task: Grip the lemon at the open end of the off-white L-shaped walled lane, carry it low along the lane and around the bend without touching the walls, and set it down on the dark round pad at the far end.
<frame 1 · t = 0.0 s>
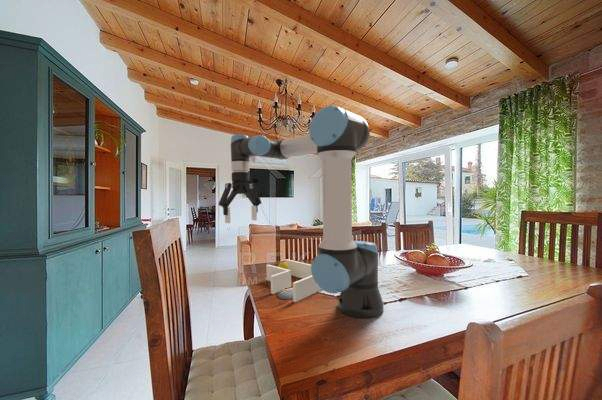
hand: (241, 221, 110), 28 cm above the table, tool pointing down, fingers open, 13 cm apart
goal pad: (288, 295, 100), on the table
lemon: (283, 278, 120), on the table
bent lane: (309, 285, 110), on the table
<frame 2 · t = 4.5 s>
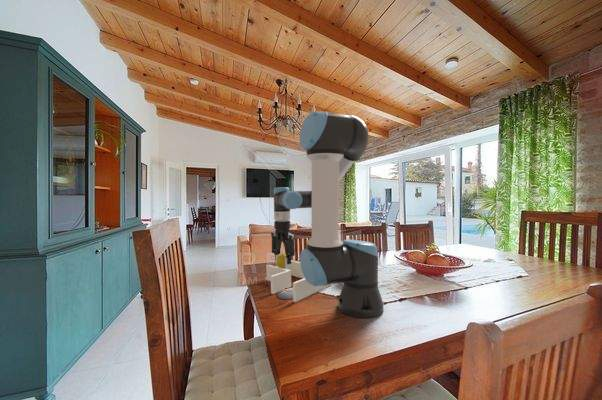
hand: (283, 269, 120), 4 cm above the table, tool pointing down, fingers closed on lemon, 5 cm apart
lemon: (283, 270, 120), point 4 cm above the table, touching gripper
everything else where it was.
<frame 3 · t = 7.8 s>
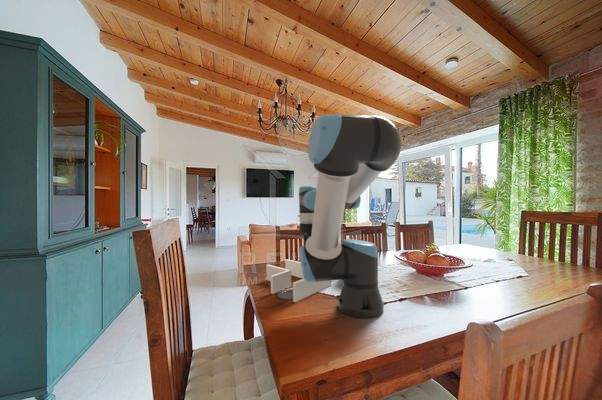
hand: (309, 276, 110), 4 cm above the table, tool pointing down, fingers closed on lemon, 5 cm apart
lemon: (309, 277, 110), point 4 cm above the table, touching gripper
everything else where it was.
when the fingers open (1 cm above the table, at t = 11.6 s): lemon stays where it is, resting on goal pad.
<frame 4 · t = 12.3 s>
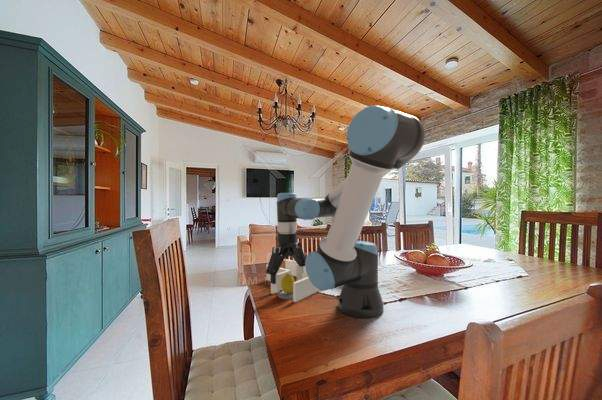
hand: (288, 286, 100), 3 cm above the table, tool pointing down, fingers open, 13 cm apart
lemon: (288, 294, 100), resting on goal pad
everything else where it was.
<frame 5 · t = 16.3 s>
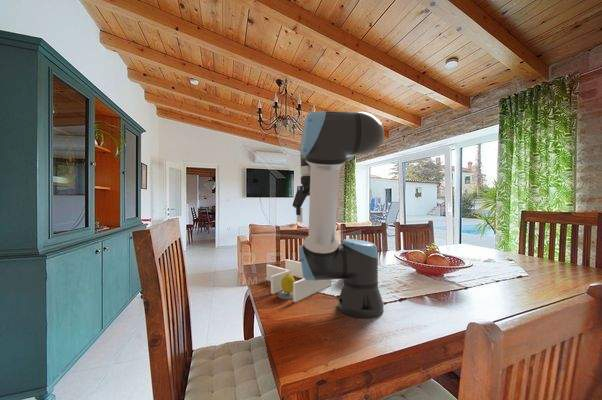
hand: (309, 221, 121), 27 cm above the table, tool pointing down, fingers open, 13 cm apart
nothing on the table moved.
at the end: lemon inside the target area (0.2 cm from its centre), resting on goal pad; lemon touching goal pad; the gripper is holding nothing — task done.
